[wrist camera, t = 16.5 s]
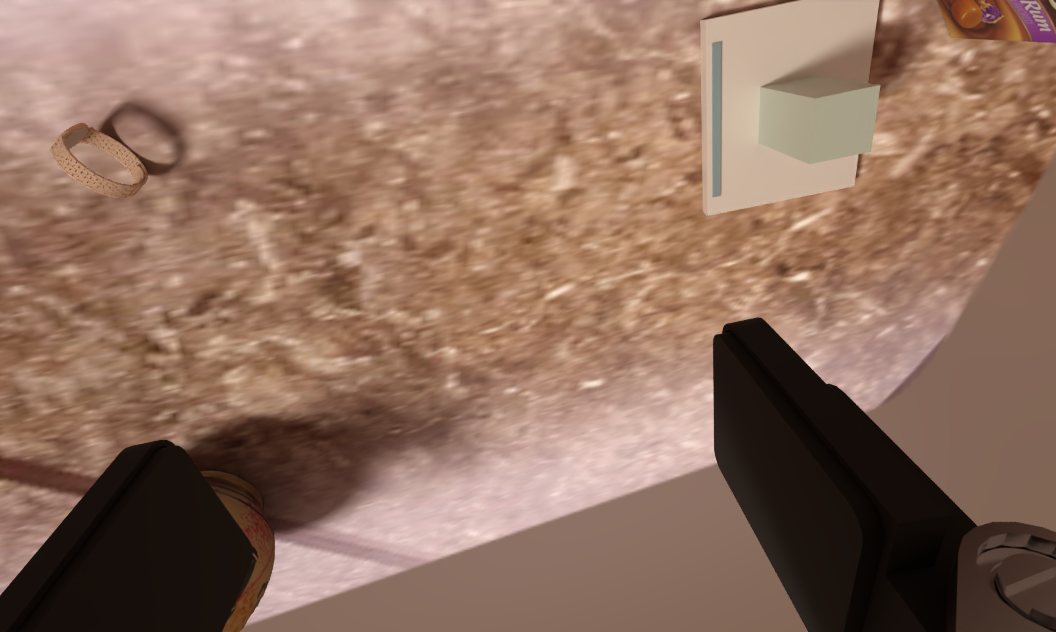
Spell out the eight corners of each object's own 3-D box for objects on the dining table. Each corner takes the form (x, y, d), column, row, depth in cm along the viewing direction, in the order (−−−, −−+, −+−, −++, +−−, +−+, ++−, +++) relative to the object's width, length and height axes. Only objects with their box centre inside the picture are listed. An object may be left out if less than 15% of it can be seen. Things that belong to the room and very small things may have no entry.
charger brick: (760, 87, 37) (814, 98, 31) (814, 75, 37) (880, 84, 31) (758, 143, 39) (809, 164, 33) (810, 132, 39) (870, 152, 33)
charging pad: (700, 20, 36) (706, 20, 35) (871, -16, 36) (883, -17, 35) (702, 212, 43) (708, 216, 42) (846, 182, 42) (855, 186, 41)
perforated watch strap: (103, 117, 36) (51, 129, 31) (167, 170, 38) (126, 189, 33) (82, 142, 36) (28, 157, 32) (145, 193, 38) (102, 214, 34)
